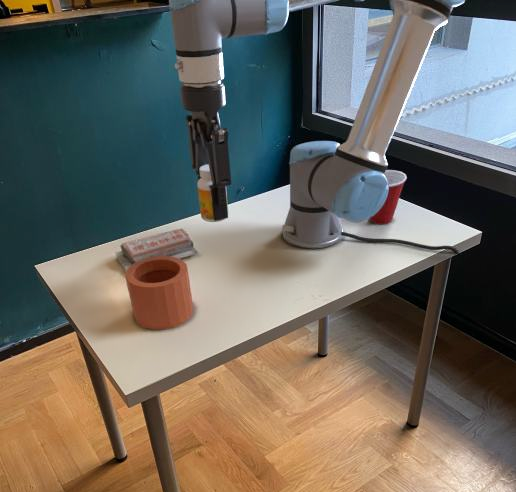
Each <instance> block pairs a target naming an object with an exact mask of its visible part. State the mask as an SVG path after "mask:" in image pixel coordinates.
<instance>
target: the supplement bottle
mask: <svg viewBox="0 0 516 492" xmlns="http://www.w3.org/2000/svg"><path fill="white" fill-rule="evenodd" d="M199 170H200V177H202V178H200V179H199V180H198V179H197V184H196V185H197V194H198V201H199V202H198V203H199V211H200V218H201V220H203V221H204V222H208V223H219V222H222V221H225V219H222V220H218V221H215V220H214V217H213V207H212V197H211V189H210V188H209V185H212V179H211V174H210V169H209V164H208V165H204V166H201V167H200V169H199ZM226 197H227V198H228V192H227V191H226ZM227 209H228V210H229V206H228V203H227Z"/></svg>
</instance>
